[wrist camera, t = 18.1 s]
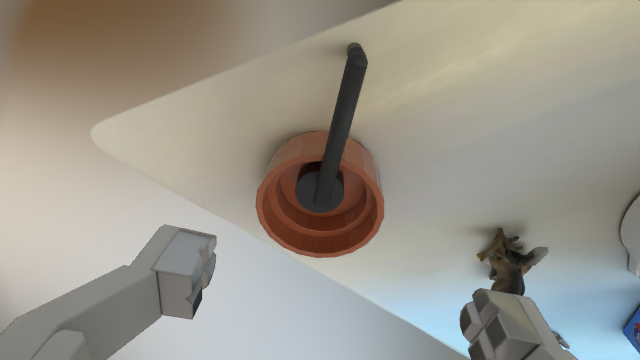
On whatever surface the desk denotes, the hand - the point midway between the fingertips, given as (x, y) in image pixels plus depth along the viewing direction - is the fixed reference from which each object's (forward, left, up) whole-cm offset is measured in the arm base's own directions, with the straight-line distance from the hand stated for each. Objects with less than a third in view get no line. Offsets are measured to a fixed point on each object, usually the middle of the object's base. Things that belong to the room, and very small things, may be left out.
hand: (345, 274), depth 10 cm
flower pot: (0, +10, -21) cm, 23 cm away
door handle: (0, +4, -21) cm, 21 cm away
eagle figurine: (-22, +15, -21) cm, 34 cm away
